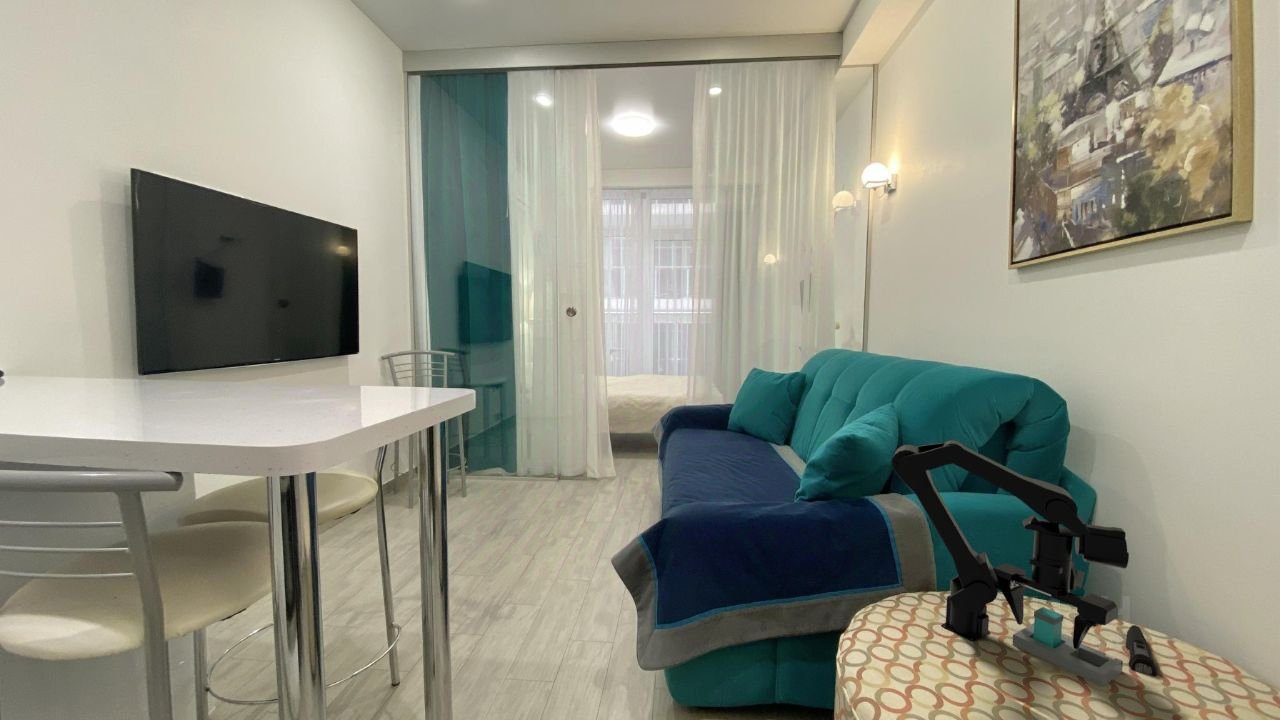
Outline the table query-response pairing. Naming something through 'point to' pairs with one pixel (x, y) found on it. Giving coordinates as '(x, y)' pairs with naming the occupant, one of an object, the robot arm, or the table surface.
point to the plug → (1048, 627)
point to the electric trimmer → (1139, 652)
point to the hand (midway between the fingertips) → (1047, 635)
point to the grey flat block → (1071, 657)
